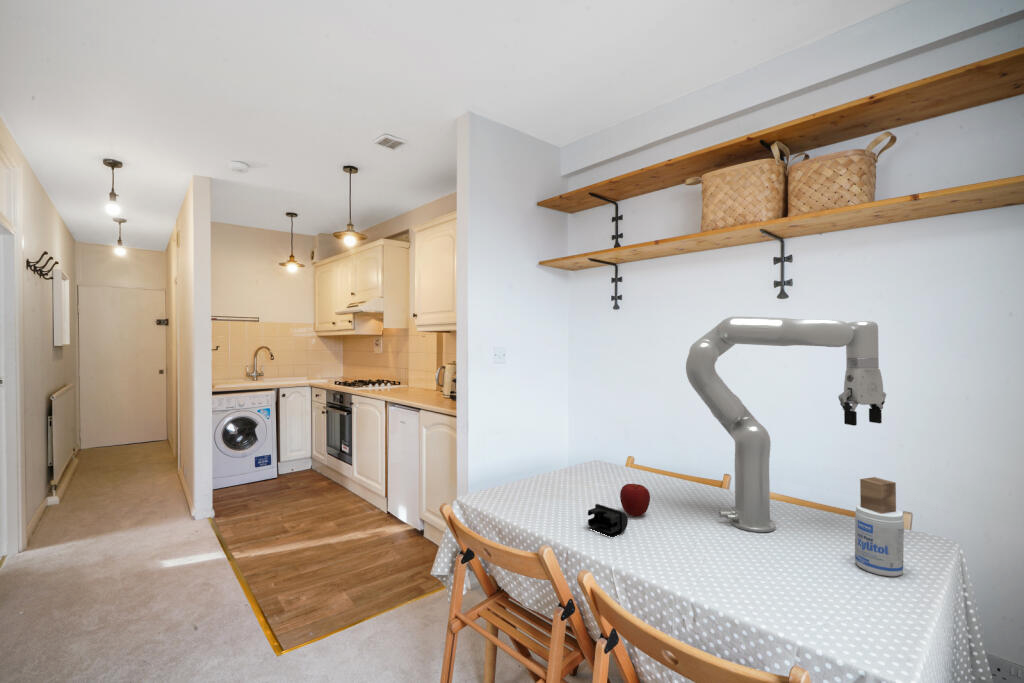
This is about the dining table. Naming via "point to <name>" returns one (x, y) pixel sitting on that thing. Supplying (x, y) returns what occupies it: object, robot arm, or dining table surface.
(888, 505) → the walnut block
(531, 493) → the dining table surface
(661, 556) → the dining table surface
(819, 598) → the dining table surface
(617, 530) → the end cap
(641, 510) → the apple
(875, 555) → the supplement tub
